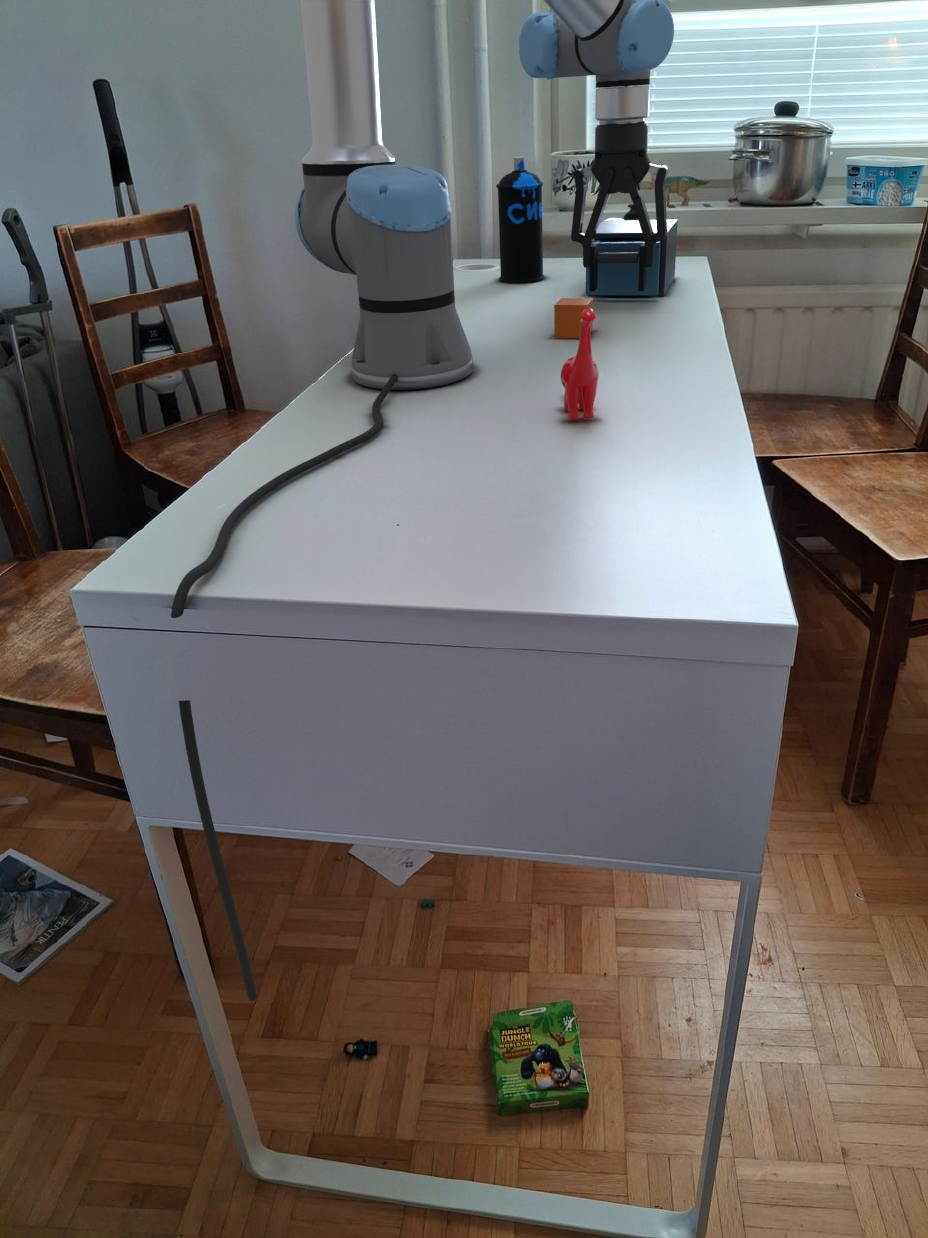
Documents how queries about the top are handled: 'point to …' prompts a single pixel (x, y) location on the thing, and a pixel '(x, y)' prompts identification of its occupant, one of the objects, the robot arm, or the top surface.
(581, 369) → the dinosaur
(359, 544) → the top surface
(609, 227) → the cabinet
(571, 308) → the cube
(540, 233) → the aerosol can
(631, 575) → the top surface
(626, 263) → the drawer
